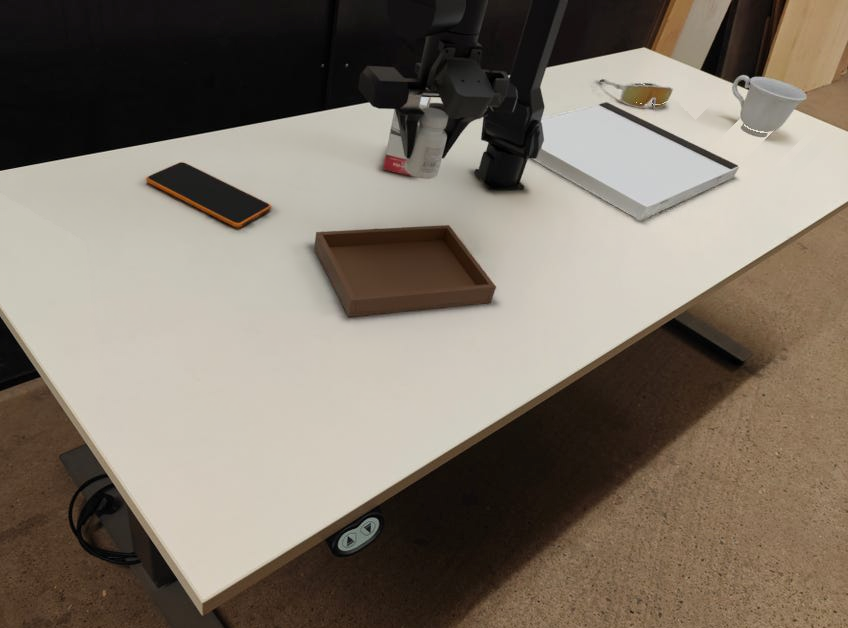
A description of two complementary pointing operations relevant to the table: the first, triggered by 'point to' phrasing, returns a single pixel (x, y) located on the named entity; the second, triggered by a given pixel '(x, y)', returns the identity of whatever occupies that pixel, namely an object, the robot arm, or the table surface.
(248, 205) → the smartphone
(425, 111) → the pill bottle
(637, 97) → the sunglasses
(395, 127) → the ink box
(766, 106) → the teacup
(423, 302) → the tray
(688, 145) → the white flat slab
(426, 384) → the table surface
